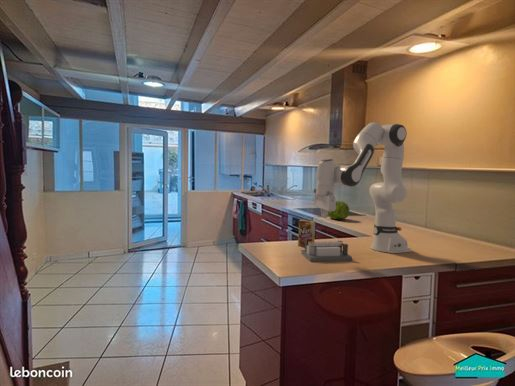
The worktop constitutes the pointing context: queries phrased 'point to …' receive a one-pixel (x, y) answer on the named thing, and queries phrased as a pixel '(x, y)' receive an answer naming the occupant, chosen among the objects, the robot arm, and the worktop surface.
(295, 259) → the worktop surface
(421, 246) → the worktop surface
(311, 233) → the candy box
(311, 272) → the worktop surface
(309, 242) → the strap
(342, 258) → the heatsink board
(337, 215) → the lettuce
